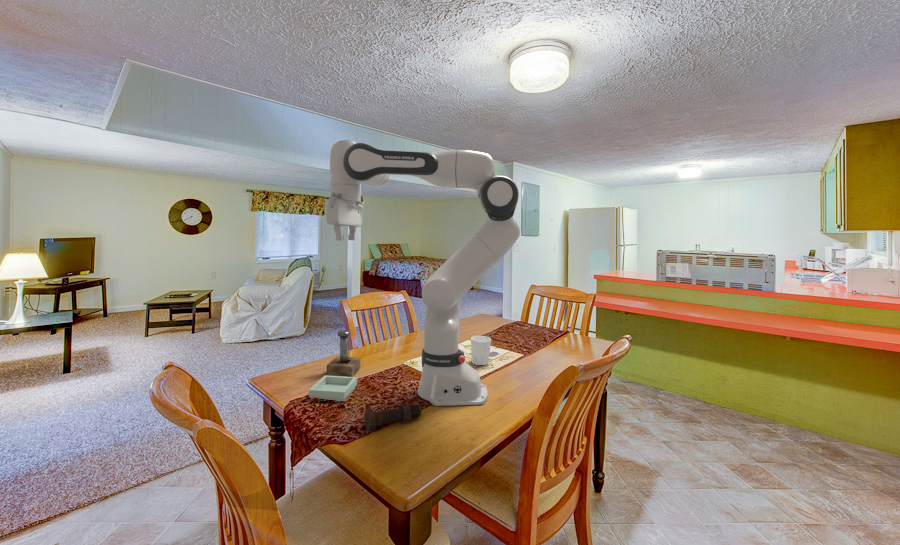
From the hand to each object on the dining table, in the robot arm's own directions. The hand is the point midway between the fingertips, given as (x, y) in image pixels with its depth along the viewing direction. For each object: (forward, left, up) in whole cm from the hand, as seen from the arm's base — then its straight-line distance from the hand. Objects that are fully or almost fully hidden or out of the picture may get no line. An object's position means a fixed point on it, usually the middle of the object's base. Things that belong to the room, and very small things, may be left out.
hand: (346, 240), depth 112 cm
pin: (+5, -11, -48) cm, 49 cm away
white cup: (-44, -28, -48) cm, 71 cm away
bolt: (-21, +20, -48) cm, 56 cm away
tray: (+2, +5, -48) cm, 48 cm away
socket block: (+5, -11, -48) cm, 49 cm away
